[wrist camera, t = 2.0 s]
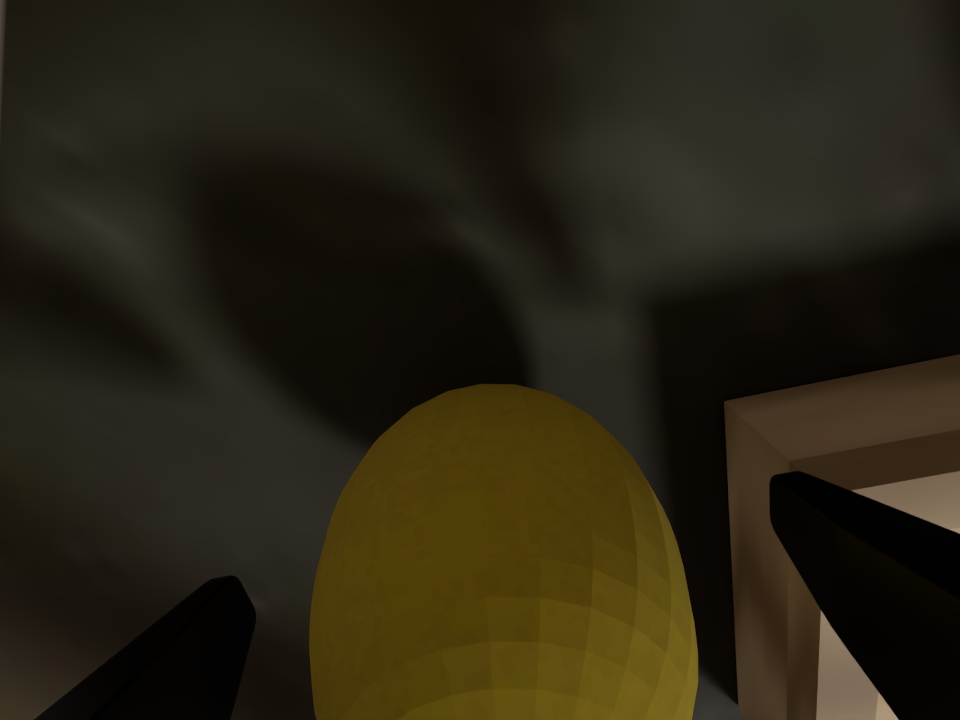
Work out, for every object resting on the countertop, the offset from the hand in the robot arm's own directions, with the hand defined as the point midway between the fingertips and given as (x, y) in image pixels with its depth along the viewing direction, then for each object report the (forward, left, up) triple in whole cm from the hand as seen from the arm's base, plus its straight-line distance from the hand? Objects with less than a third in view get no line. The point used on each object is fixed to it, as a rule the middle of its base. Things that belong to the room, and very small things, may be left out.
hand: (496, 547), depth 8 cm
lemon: (0, 0, -4) cm, 4 cm away
